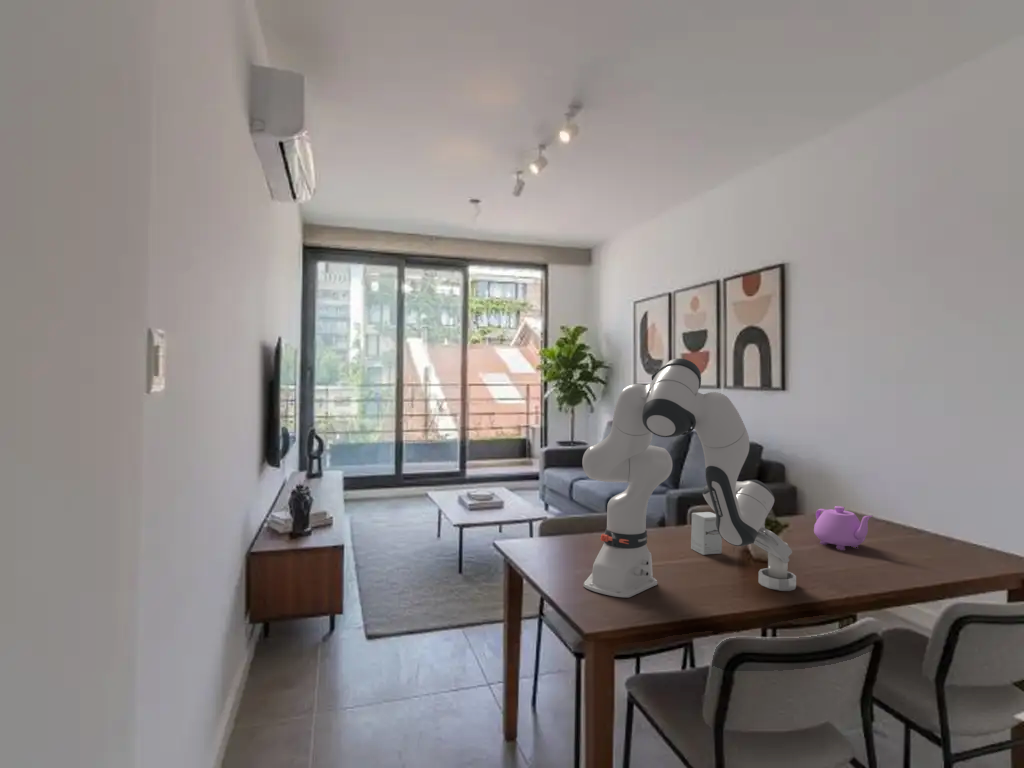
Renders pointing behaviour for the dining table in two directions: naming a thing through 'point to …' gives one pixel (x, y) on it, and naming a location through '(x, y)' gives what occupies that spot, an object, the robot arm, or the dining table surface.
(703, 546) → the supplement box
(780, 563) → the white cylinder
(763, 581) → the collar
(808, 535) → the dining table surface
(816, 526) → the teapot
